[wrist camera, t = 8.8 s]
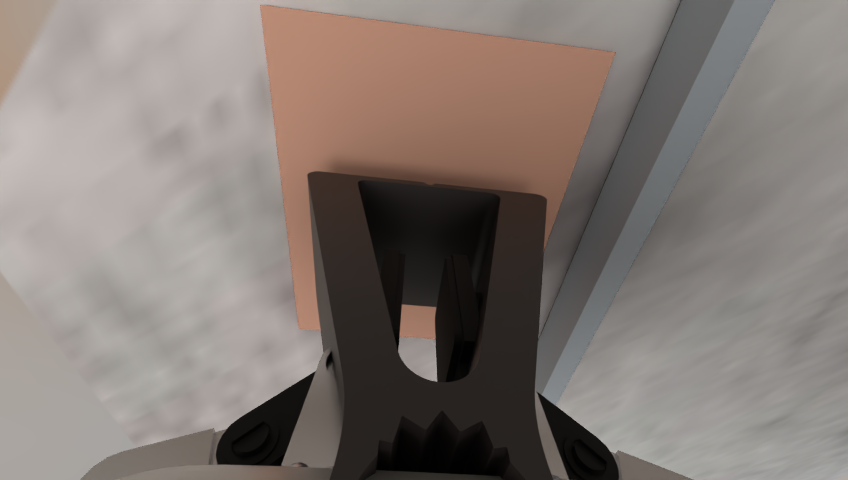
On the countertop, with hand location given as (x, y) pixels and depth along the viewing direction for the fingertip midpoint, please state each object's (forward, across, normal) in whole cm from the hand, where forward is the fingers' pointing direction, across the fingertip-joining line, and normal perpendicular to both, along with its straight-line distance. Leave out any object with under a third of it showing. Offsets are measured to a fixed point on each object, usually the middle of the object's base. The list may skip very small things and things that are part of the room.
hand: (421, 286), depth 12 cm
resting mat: (+5, 0, 0) cm, 5 cm away
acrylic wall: (+5, -9, 0) cm, 10 cm away
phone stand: (+3, 0, 0) cm, 3 cm away
